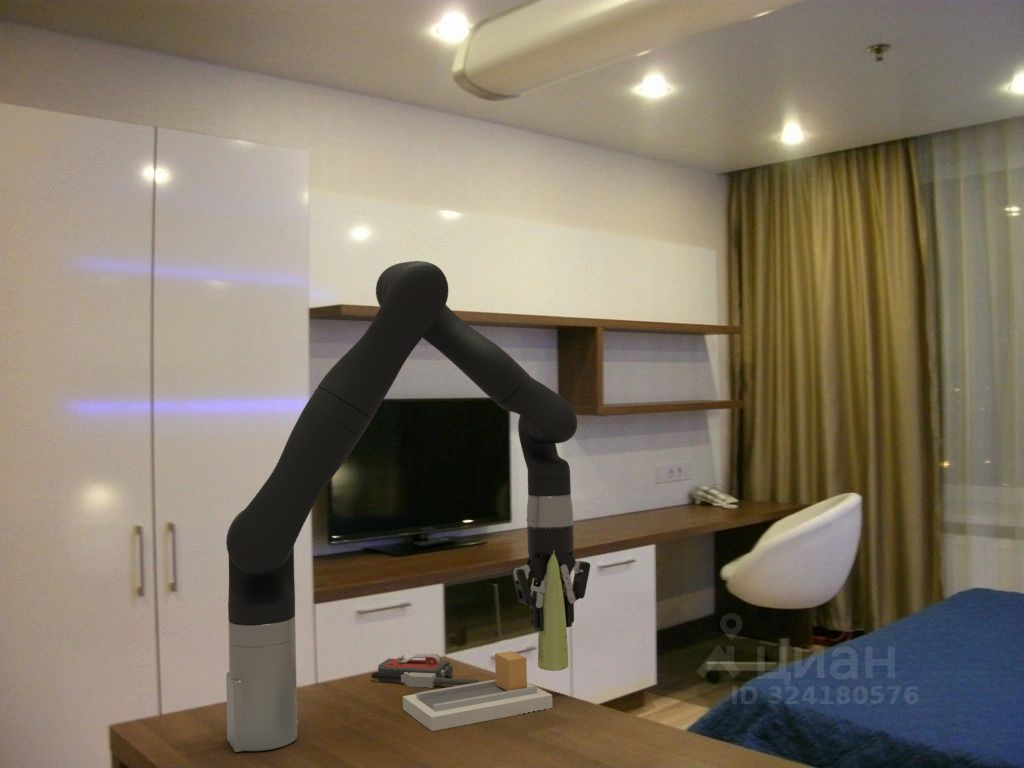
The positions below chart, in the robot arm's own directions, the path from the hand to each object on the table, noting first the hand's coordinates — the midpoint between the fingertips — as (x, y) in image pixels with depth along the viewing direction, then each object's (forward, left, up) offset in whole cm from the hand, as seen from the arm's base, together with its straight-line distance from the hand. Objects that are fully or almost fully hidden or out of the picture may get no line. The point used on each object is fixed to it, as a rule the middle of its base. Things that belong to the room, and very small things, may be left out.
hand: (552, 627), depth 149 cm
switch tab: (-8, 0, -8) cm, 11 cm away
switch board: (-14, 0, -11) cm, 17 cm away
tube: (0, 0, -7) cm, 7 cm away
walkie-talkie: (-14, +19, -11) cm, 26 cm away
